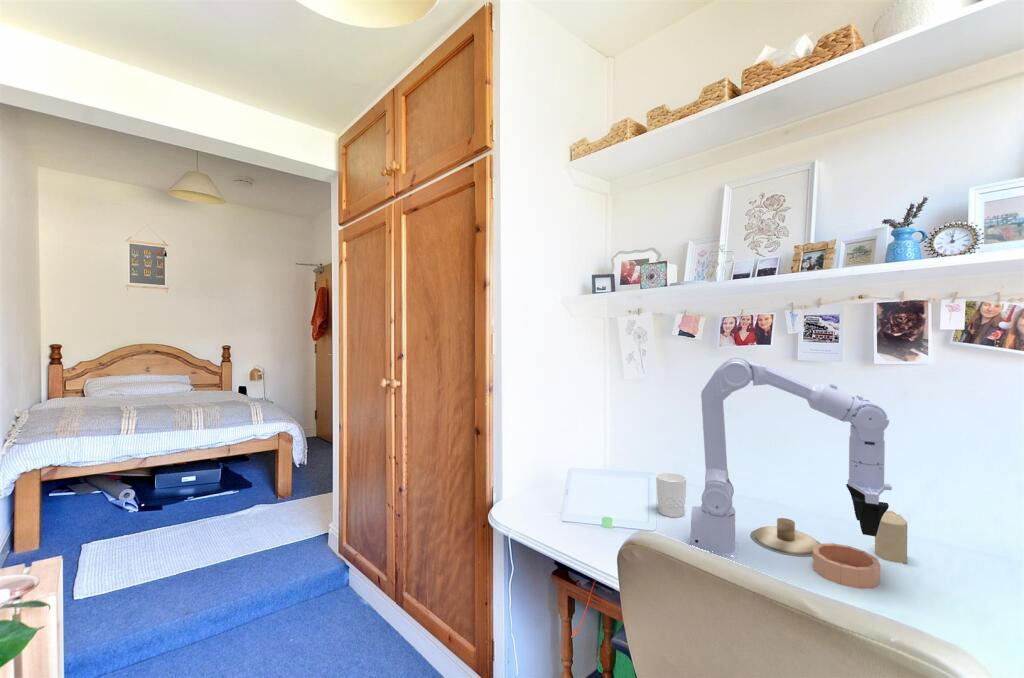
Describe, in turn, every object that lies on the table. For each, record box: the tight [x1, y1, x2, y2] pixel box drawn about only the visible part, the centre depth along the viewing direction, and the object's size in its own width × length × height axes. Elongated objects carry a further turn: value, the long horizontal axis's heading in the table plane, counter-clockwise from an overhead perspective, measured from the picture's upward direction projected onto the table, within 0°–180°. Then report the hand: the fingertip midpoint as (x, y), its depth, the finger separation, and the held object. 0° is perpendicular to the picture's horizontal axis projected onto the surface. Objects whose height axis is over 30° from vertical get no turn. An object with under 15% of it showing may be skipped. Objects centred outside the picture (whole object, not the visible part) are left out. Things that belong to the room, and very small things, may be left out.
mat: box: [749, 528, 822, 558], centre depth 110 cm, size 15×15×1 cm
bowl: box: [812, 542, 882, 589], centre depth 96 cm, size 11×11×4 cm
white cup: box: [655, 471, 687, 518], centre depth 129 cm, size 8×8×10 cm
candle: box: [874, 510, 908, 565], centre depth 103 cm, size 6×6×10 cm
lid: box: [755, 517, 819, 555], centre depth 110 cm, size 13×13×5 cm
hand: (865, 527), depth 95 cm, fingers open, 7 cm apart
